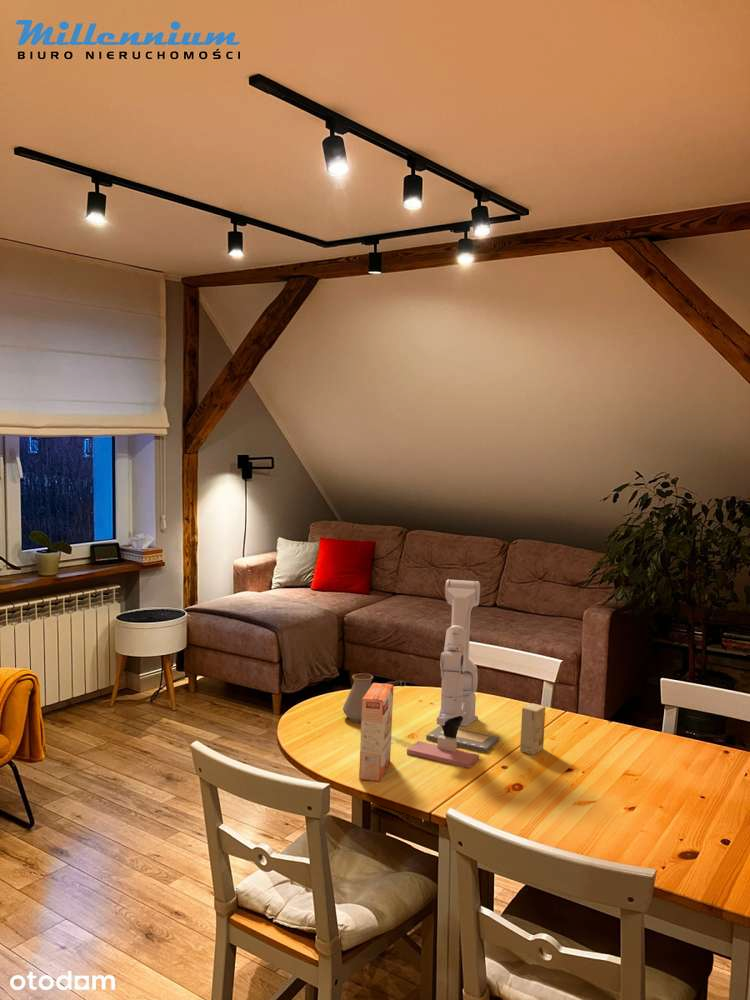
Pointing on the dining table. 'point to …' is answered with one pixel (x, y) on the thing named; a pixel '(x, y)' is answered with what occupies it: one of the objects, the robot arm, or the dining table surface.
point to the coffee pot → (359, 695)
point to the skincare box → (532, 728)
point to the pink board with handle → (443, 752)
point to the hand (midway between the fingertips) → (450, 742)
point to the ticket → (467, 739)
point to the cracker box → (376, 731)
